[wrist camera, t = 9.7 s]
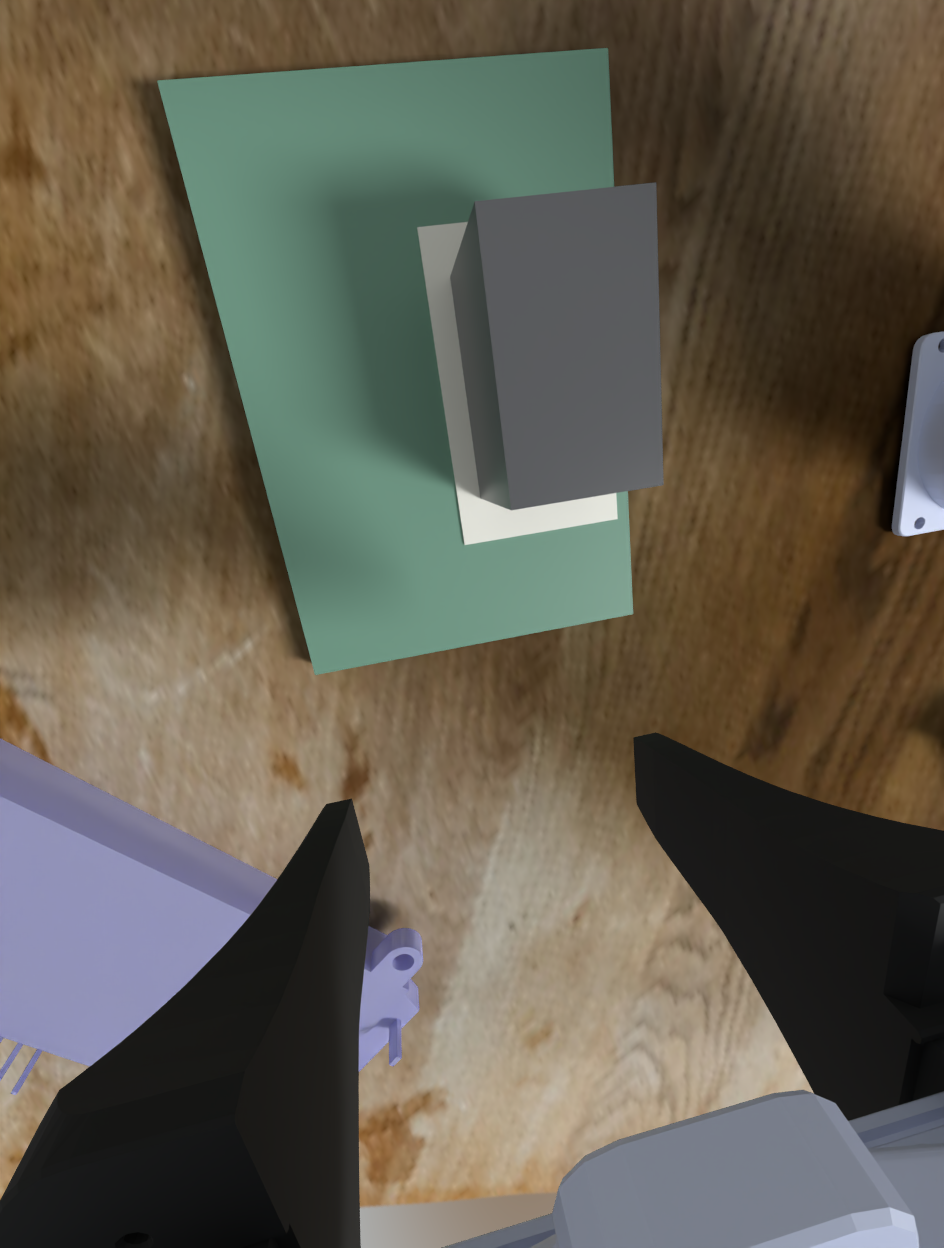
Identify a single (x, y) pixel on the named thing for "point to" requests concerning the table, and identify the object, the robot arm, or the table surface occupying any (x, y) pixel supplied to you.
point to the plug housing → (562, 344)
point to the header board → (391, 336)
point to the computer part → (131, 920)
